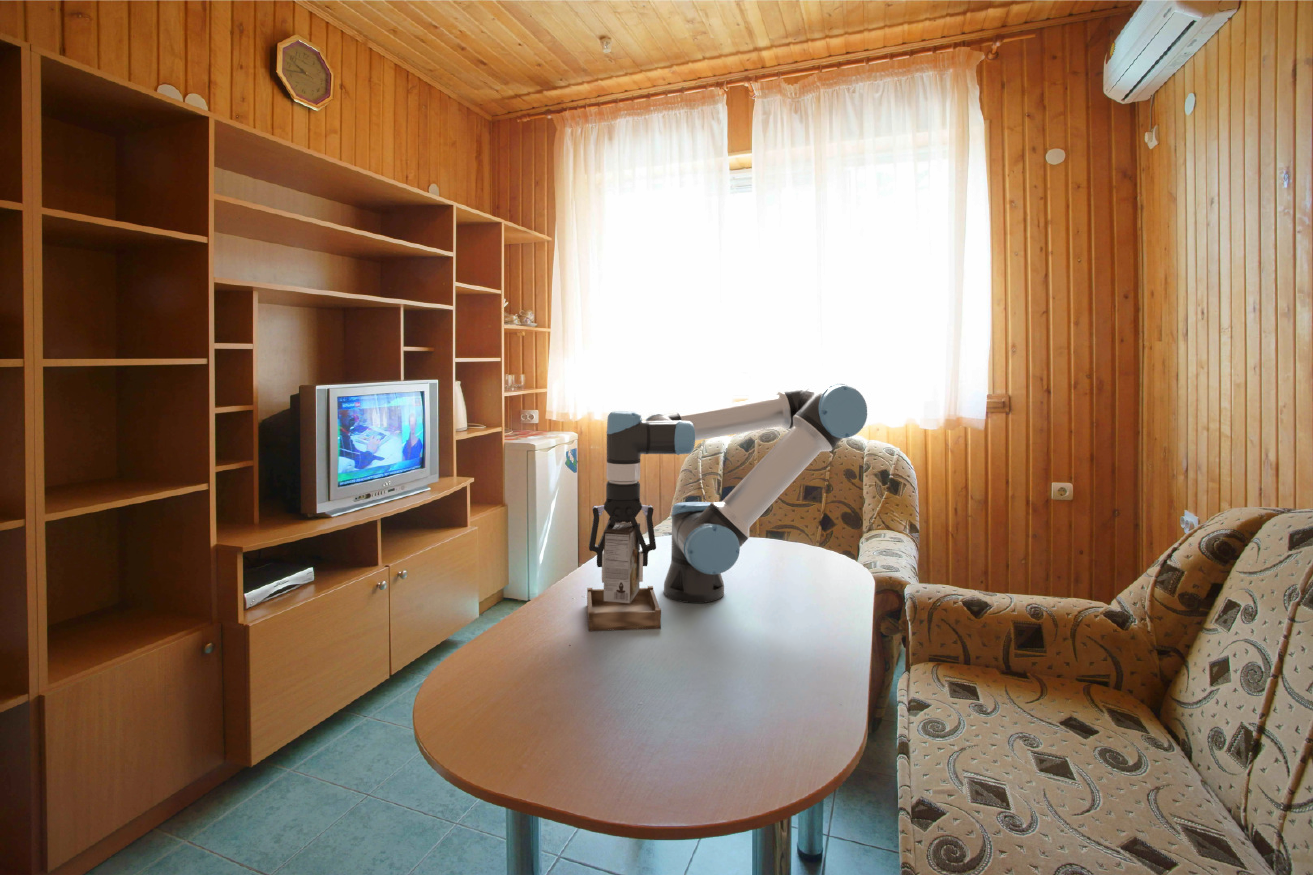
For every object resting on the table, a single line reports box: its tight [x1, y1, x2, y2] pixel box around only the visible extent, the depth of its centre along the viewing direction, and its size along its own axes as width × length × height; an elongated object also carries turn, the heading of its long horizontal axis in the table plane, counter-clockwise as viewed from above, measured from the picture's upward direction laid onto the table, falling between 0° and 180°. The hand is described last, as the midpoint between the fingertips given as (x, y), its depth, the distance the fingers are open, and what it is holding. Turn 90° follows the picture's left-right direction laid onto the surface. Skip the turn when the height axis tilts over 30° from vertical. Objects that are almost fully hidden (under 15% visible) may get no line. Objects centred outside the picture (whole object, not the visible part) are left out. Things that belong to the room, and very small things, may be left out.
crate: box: [586, 585, 662, 632], centre depth 154 cm, size 16×16×4 cm
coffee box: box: [603, 522, 641, 603], centre depth 153 cm, size 9×6×16 cm
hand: (622, 580), depth 154 cm, fingers closed on coffee box, 8 cm apart
